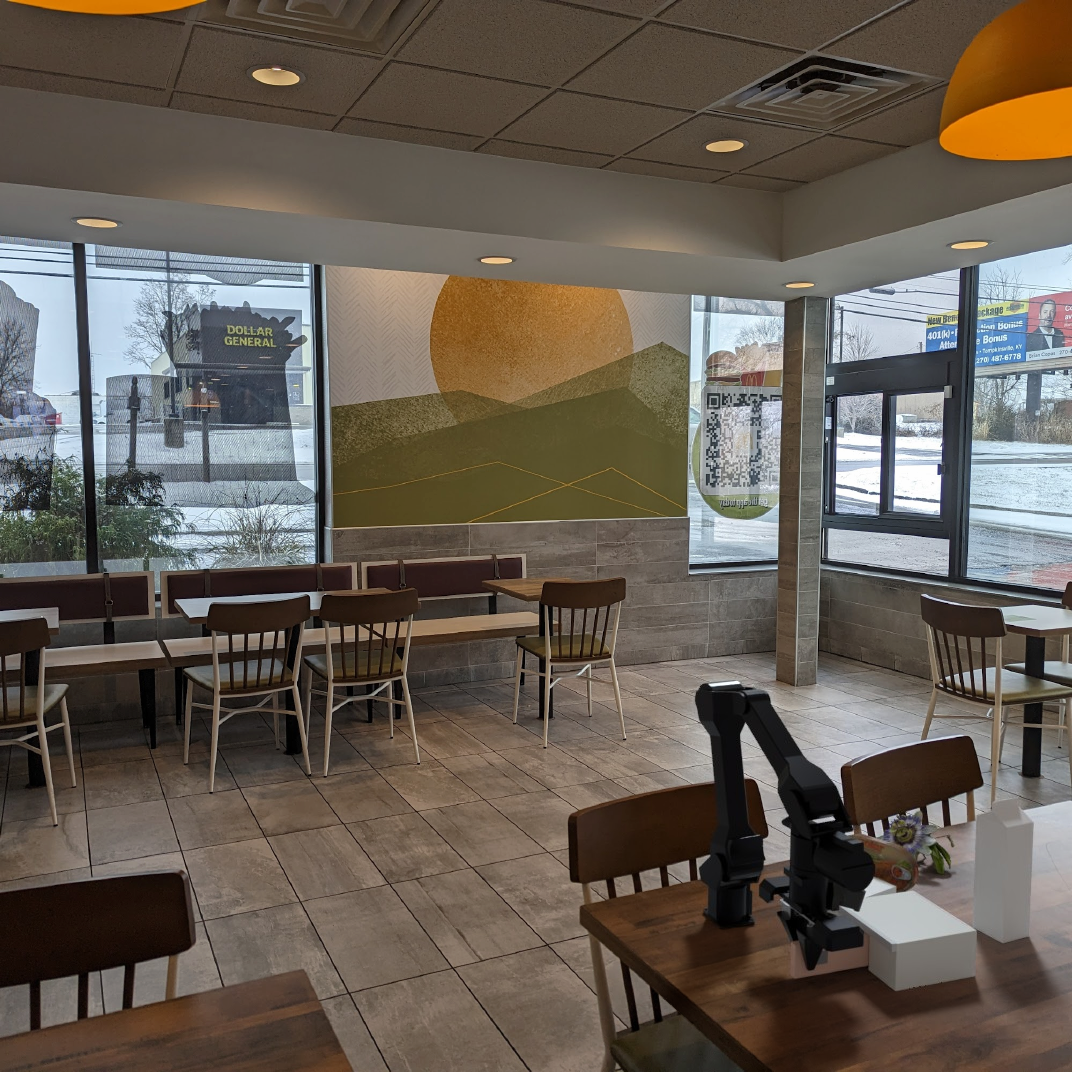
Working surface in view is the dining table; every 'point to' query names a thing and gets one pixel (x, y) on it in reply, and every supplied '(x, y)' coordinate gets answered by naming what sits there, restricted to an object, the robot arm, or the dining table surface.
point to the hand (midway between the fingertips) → (807, 967)
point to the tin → (891, 862)
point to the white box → (914, 940)
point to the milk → (1003, 871)
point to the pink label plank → (829, 960)
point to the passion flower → (917, 839)
